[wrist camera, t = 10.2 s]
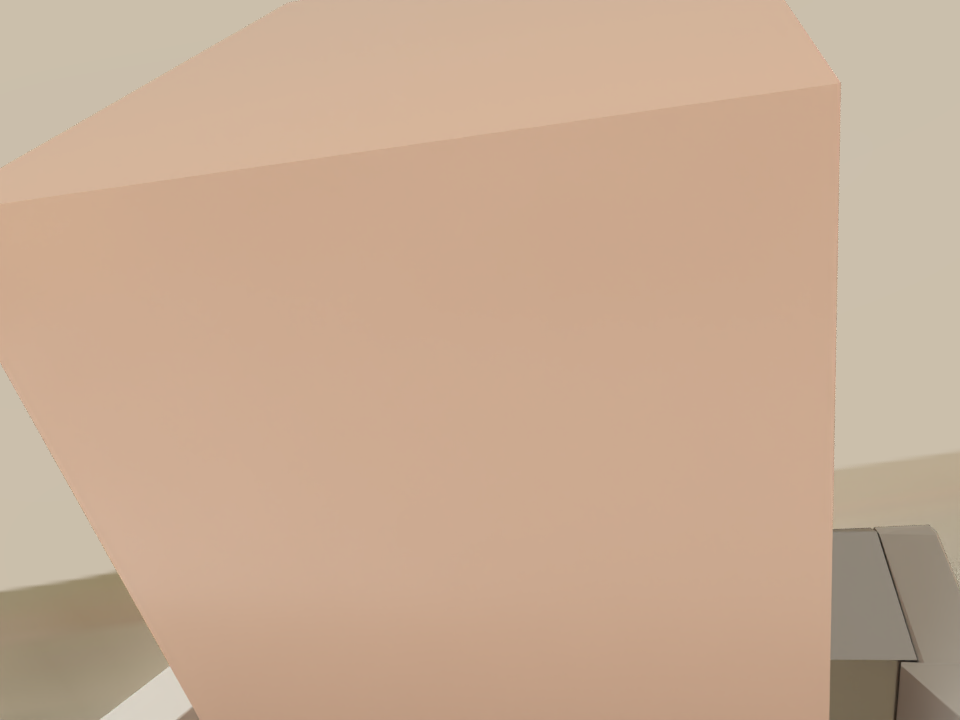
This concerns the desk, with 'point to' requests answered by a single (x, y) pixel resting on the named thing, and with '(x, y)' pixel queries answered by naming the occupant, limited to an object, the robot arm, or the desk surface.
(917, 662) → the robot arm
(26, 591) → the desk surface
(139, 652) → the desk surface
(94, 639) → the desk surface
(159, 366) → the clay strip
